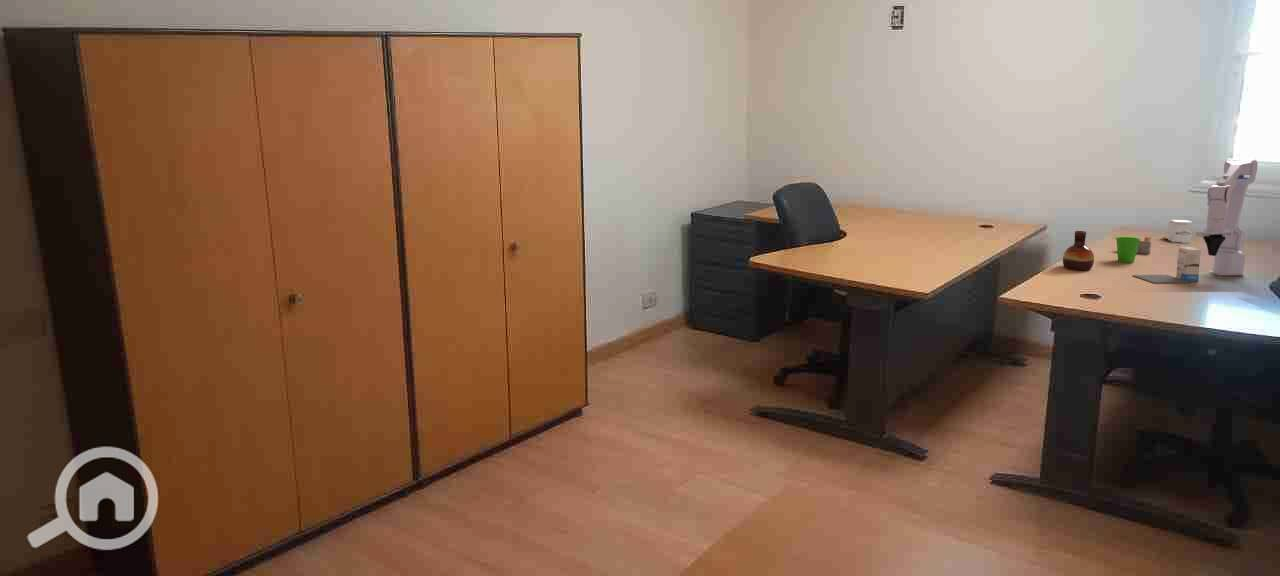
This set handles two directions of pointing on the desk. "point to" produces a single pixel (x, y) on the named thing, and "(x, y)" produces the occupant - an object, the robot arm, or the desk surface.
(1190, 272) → the ink box
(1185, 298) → the desk surface
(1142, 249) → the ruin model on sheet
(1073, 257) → the vase
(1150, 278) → the mat
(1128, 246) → the cup
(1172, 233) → the supplement box
